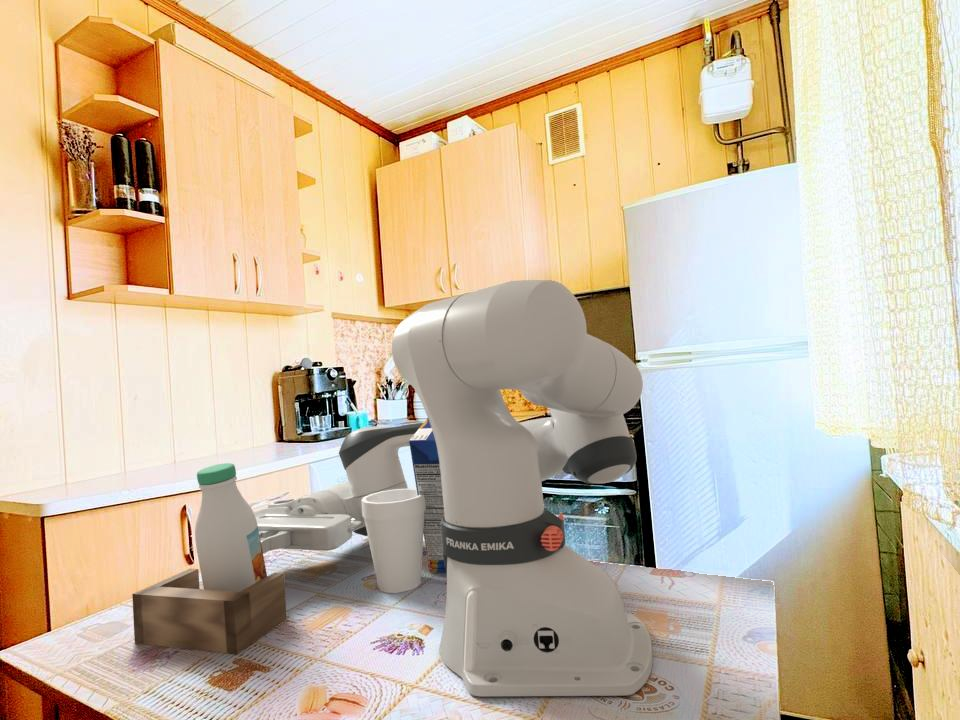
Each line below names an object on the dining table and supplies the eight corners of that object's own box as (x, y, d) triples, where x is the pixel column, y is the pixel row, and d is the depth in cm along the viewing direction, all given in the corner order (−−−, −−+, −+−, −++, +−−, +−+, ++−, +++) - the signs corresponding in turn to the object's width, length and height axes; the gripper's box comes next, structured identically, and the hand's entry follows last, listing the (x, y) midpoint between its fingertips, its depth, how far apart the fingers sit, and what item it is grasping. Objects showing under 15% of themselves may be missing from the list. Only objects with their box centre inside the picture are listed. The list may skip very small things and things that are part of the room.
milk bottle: (247, 625, 64) (220, 475, 63) (196, 625, 66) (168, 479, 64) (282, 591, 72) (258, 456, 70) (235, 592, 73) (211, 460, 72)
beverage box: (429, 573, 77) (408, 441, 72) (447, 531, 88) (430, 414, 82) (472, 574, 76) (454, 440, 71) (485, 532, 86) (470, 412, 81)
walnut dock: (286, 619, 65) (283, 572, 65) (237, 654, 57) (234, 601, 57) (192, 611, 70) (190, 568, 70) (134, 642, 62) (132, 593, 62)
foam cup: (412, 600, 68) (405, 504, 69) (355, 595, 71) (348, 503, 72) (441, 573, 77) (435, 488, 78) (389, 570, 80) (383, 488, 81)
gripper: (368, 541, 82) (314, 573, 69) (268, 537, 88) (201, 566, 75) (366, 502, 82) (311, 527, 69) (266, 501, 89) (199, 524, 76)
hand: (253, 547), depth 72 cm, fingers closed, pressing on milk bottle
